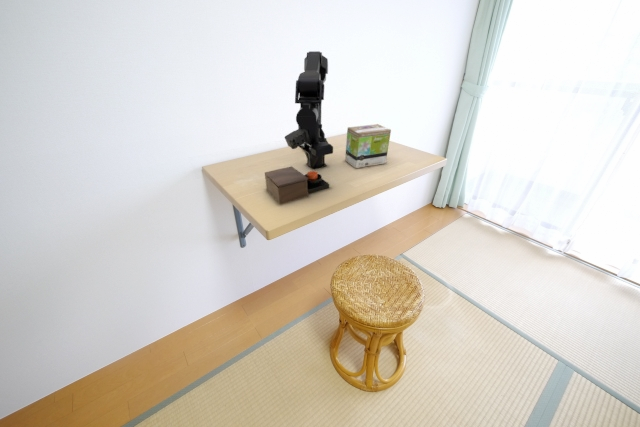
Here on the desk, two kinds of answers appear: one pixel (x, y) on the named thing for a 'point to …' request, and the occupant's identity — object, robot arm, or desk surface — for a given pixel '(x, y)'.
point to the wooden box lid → (285, 176)
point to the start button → (312, 175)
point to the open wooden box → (287, 191)
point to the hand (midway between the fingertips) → (311, 166)
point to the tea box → (367, 145)
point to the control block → (316, 184)
